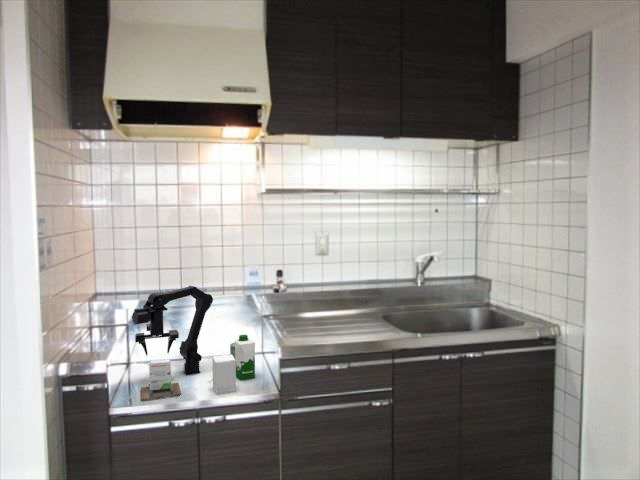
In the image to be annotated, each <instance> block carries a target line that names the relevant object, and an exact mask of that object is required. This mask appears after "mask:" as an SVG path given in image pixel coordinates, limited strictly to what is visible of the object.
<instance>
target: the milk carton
mask: <svg viewBox="0 0 640 480" xmlns="http://www.w3.org/2000/svg"><path fill="white" fill-rule="evenodd" d="M234 343H235V360H236V379H238V380H239V381H246V380H252V379H255V378H256V350H255V349H256V342H255V341H254V340H253V339H251V338H250V337H249V336H248V334H240V335H238V339H235V340H234Z"/></svg>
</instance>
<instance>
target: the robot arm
mask: <svg viewBox="0 0 640 480" xmlns="http://www.w3.org/2000/svg"><path fill="white" fill-rule="evenodd" d="M190 296H191V297H192V298H193V299H195V301H194V305H195V310H194V311H195V313H194V316H193V319H192V323H191V325H190V328H189V332H188V334H187V338H186V339H185V340H184V341H183V340H182V341H181V343H180V345H179V348H178V349H179V354H180V356H181V357H182V358H183V360H184V361H185V362H184V363H183V364H184V365H183V369H184V373H185V375H187V376H188V375H197V374H200V373H201V370H200V361H202V358H203V356H202V355H201V354H200V353H198V350H199V345H198V339H199V335H200V333H201V328H202V325H203V323H204V318H205V315H206V313H207V311H208V310H209V309H210V308H211V306H212V304H213V302H214V298H213V296H212V295H211V294H210V293H206V292H204V291H203V290H201V289H199V287H197V286H195V285H194V286H193V285H189V286H186V287H182V288H179V289H175V290H171V291H168V292H152V293H150V294H149V295H148V297H147V301H145V304H144V305H143V307H142V308H135V309H133V313H132V315H131V320H132V323H133V324H134V325H135V326H137V325H142V324H146V332H149V334H145V332H139V333H136V334H134V337H135V340H134V341H135V343H138V344H139V345H141V346H142V348H143V351H144V353H145V356H146V357H147V356H148V349H147V344H146V343H147V342H146V340H149V339H159V338H160V339H161V338H167V339H168V340H167V347H166V348H167V350H166V351H167V354H169V352H170V350H171V347H172V345H173V343H174V342H175V341H177V339H179V338H180V336H179V335H180V334H179V331H178V330H177V329H171V330H168V332H165V331H164V311H168V307H166V306H165V305H167V304H168V303H170V302H171V301H175V300H179V299H182V298H186V297H190Z"/></svg>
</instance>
